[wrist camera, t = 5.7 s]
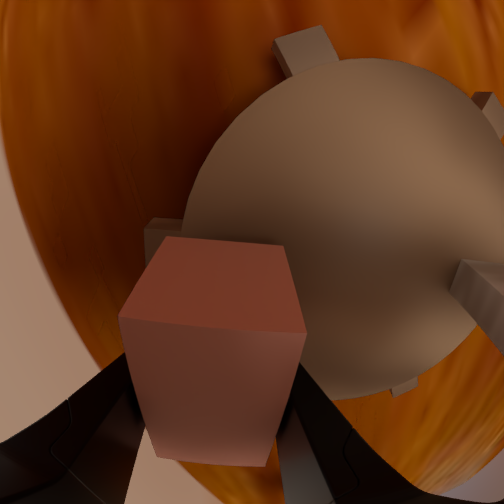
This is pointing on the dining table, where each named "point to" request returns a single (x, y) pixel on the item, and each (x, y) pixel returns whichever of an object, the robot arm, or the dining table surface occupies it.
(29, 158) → the dining table surface
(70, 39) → the dining table surface
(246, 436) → the dusty pink block
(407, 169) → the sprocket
